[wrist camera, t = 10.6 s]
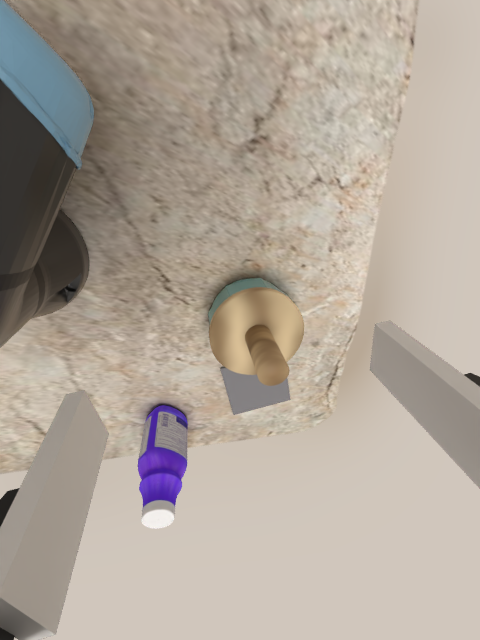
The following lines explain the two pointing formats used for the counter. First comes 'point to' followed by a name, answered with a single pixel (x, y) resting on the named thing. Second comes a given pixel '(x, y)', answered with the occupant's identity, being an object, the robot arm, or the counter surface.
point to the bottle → (162, 464)
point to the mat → (252, 391)
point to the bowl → (237, 287)
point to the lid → (257, 333)
